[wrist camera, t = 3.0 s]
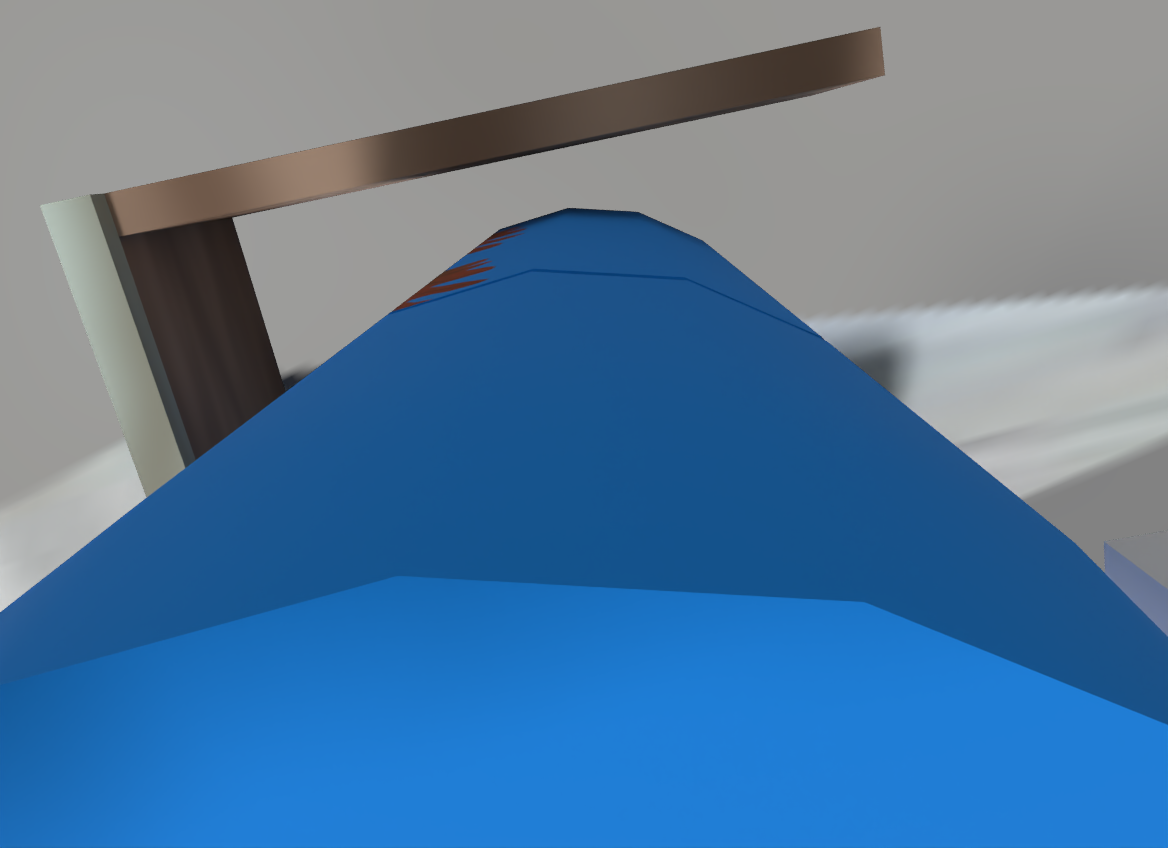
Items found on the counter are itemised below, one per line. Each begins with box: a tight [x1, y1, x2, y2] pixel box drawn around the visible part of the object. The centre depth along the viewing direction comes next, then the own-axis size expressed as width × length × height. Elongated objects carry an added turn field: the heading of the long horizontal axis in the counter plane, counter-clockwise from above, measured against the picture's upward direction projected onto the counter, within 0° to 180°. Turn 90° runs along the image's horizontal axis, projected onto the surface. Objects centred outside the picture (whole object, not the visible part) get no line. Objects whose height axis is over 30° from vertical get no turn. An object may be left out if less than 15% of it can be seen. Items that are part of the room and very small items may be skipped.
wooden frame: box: [40, 27, 885, 497], centre depth 25 cm, size 19×16×8 cm
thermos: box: [0, 208, 1168, 848], centre depth 17 cm, size 11×11×25 cm
